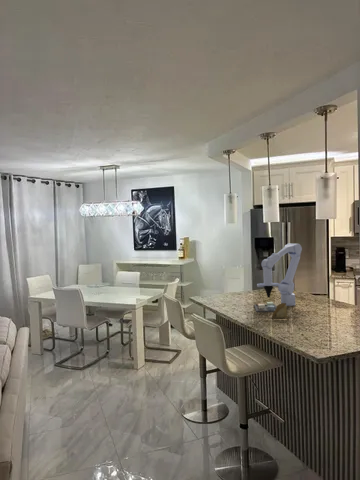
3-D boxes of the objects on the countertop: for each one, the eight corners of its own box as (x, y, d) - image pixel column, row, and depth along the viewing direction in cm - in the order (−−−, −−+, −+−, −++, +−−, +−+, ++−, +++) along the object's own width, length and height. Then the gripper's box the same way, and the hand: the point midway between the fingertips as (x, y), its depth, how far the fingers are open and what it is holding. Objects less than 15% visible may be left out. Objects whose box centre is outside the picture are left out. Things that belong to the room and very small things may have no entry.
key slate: (273, 308, 237) (273, 305, 237) (274, 309, 233) (274, 306, 233) (267, 308, 237) (267, 305, 237) (268, 310, 233) (268, 306, 233)
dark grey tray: (275, 307, 247) (275, 304, 246) (278, 313, 229) (278, 310, 229) (254, 307, 248) (254, 304, 248) (256, 314, 231) (256, 310, 231)
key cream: (264, 307, 238) (264, 304, 238) (265, 308, 234) (265, 305, 234) (258, 307, 238) (258, 304, 238) (258, 308, 234) (258, 305, 234)
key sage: (272, 304, 243) (272, 301, 243) (273, 306, 239) (273, 303, 239) (266, 304, 243) (266, 302, 243) (267, 306, 239) (267, 303, 239)
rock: (271, 317, 212) (288, 315, 210) (268, 304, 217) (285, 302, 215) (272, 324, 221) (289, 322, 219) (270, 311, 226) (286, 309, 224)
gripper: (277, 275, 244) (278, 295, 245) (256, 276, 245) (256, 296, 245) (279, 277, 237) (280, 297, 238) (257, 278, 238) (258, 298, 238)
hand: (268, 297), depth 241 cm, fingers closed
